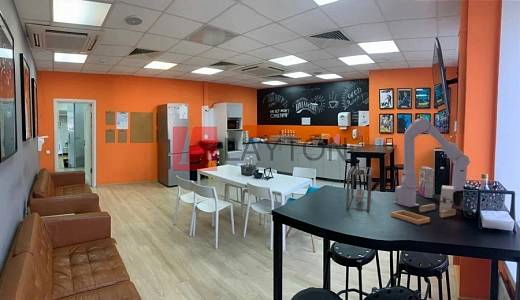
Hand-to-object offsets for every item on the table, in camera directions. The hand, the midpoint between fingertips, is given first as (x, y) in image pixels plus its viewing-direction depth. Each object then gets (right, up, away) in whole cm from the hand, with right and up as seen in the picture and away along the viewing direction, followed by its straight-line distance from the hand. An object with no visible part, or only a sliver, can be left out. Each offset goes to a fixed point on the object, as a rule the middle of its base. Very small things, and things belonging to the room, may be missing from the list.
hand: (457, 205), depth 154 cm
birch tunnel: (-15, -2, -8) cm, 17 cm away
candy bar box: (-2, +1, +27) cm, 27 cm away
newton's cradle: (-46, 0, +7) cm, 47 cm away
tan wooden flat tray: (-32, -3, -19) cm, 38 cm away
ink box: (-9, -2, -5) cm, 10 cm away
